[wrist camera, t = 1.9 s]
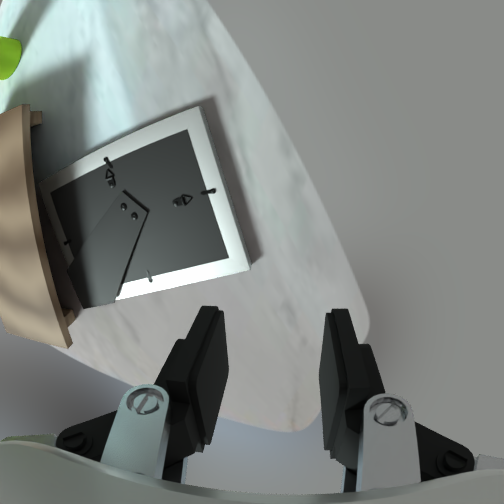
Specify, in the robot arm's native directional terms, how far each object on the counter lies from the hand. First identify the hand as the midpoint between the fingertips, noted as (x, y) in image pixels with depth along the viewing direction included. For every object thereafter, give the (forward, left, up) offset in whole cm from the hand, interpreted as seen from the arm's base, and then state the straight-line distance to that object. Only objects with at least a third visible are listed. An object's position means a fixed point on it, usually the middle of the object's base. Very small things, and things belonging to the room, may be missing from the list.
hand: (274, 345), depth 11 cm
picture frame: (0, -15, -20) cm, 25 cm away
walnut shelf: (0, -30, -19) cm, 36 cm away
